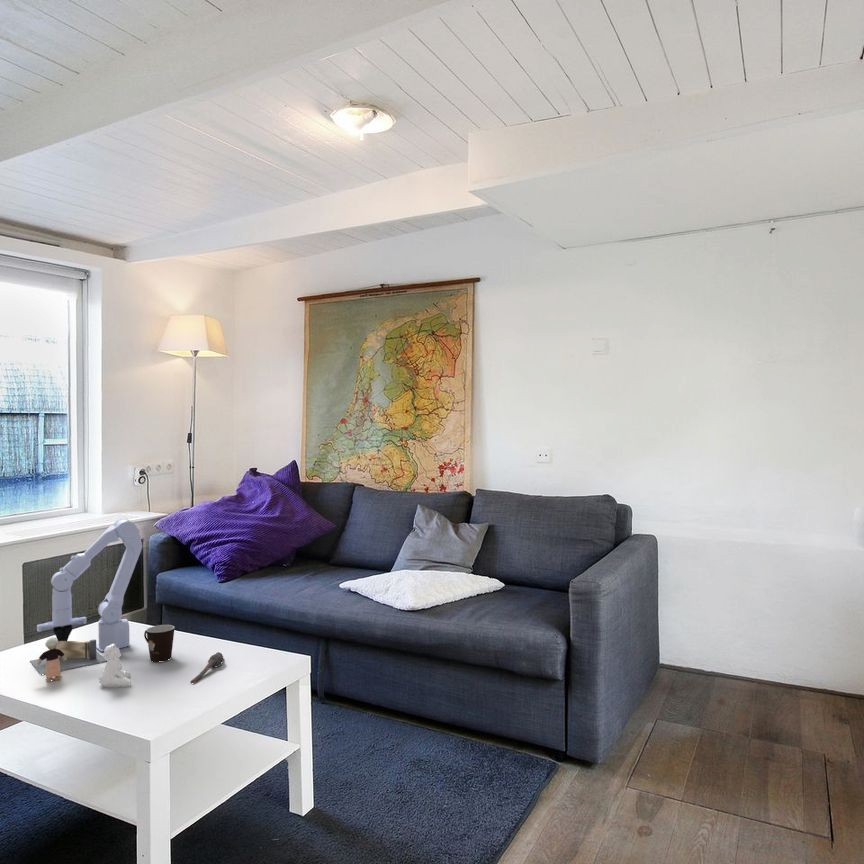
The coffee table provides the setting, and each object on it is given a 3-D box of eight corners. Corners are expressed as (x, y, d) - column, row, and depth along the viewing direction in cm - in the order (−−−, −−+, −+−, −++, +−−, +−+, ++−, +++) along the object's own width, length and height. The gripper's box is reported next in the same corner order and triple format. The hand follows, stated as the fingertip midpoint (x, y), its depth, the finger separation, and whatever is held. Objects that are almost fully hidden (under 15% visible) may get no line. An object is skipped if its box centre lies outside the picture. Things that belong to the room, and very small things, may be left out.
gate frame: (93, 649, 234) (92, 628, 234) (107, 661, 221) (107, 639, 221) (29, 661, 222) (29, 639, 222) (41, 675, 209) (40, 652, 209)
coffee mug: (177, 660, 222) (177, 629, 222) (149, 665, 217) (149, 634, 217) (169, 650, 231) (168, 621, 231) (142, 655, 227) (141, 625, 226)
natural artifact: (226, 662, 223) (233, 653, 223) (192, 685, 201) (200, 674, 200) (217, 655, 223) (224, 645, 223) (182, 677, 201) (190, 666, 201)
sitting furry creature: (131, 687, 199) (131, 646, 199) (99, 692, 195) (98, 650, 195) (130, 676, 207) (130, 637, 207) (98, 681, 203) (98, 641, 203)
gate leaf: (90, 656, 224) (90, 641, 224) (88, 657, 222) (87, 642, 222) (55, 655, 225) (55, 640, 225) (53, 657, 223) (52, 642, 223)
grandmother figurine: (63, 674, 209) (63, 633, 209) (67, 677, 207) (67, 636, 206) (35, 681, 204) (35, 639, 204) (39, 684, 201) (39, 641, 201)
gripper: (82, 602, 235) (83, 641, 235) (34, 609, 226) (35, 650, 226) (88, 606, 230) (88, 646, 230) (39, 613, 221) (39, 655, 221)
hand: (62, 648), depth 228 cm, fingers closed
